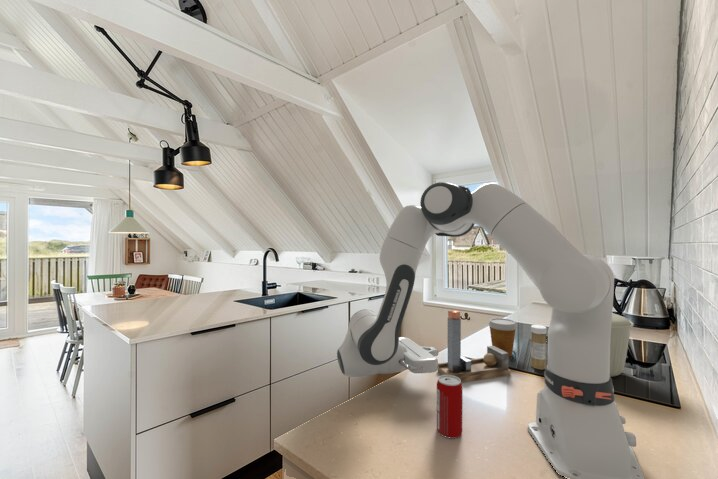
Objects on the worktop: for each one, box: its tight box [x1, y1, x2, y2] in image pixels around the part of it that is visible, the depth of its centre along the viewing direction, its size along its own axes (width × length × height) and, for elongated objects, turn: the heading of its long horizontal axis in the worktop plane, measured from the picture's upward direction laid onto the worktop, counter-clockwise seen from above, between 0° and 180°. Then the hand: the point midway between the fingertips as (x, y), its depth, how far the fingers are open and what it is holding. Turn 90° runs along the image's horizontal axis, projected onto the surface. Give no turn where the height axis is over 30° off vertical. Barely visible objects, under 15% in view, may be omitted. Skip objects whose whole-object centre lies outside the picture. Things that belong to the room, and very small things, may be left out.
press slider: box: [447, 309, 471, 372], centre depth 102 cm, size 6×6×18 cm
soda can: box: [436, 374, 463, 439], centre depth 73 cm, size 6×6×12 cm
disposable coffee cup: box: [488, 317, 518, 358], centre depth 119 cm, size 10×10×12 cm
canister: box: [610, 312, 635, 378], centre depth 105 cm, size 18×18×21 cm
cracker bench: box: [437, 345, 512, 383], centre depth 103 cm, size 20×9×6 cm, turn 106°
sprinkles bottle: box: [530, 324, 548, 370], centre depth 108 cm, size 5×5×14 cm
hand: (435, 351), depth 100 cm, fingers closed
